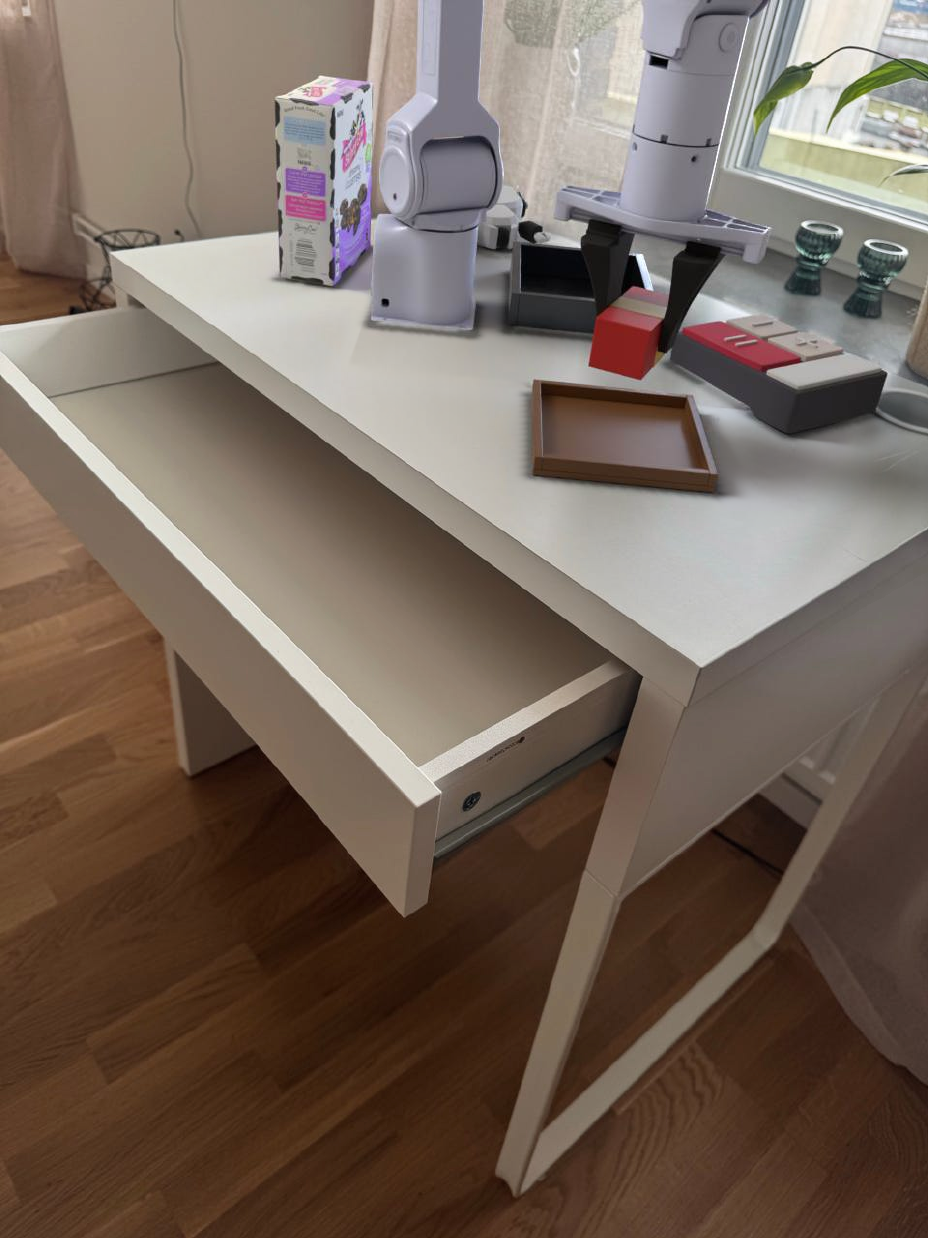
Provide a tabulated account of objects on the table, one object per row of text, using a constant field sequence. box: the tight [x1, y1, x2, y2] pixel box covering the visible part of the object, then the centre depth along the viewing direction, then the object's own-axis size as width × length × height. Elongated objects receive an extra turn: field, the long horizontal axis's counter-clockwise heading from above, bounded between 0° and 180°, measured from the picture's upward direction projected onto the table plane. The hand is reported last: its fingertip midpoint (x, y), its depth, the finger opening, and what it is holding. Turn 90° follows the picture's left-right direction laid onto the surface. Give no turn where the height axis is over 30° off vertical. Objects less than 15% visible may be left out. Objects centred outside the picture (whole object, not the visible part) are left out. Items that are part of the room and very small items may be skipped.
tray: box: [530, 379, 719, 493], centre depth 74 cm, size 13×13×2 cm
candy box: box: [274, 75, 374, 287], centre depth 96 cm, size 14×6×16 cm, turn 168°
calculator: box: [669, 313, 888, 434], centre depth 84 cm, size 11×4×15 cm
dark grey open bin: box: [507, 241, 654, 335], centre depth 96 cm, size 14×16×4 cm
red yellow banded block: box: [587, 286, 669, 381], centre depth 70 cm, size 4×8×4 cm, turn 154°
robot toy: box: [477, 184, 551, 250], centre depth 111 cm, size 12×4×15 cm
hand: (635, 340), depth 70 cm, fingers closed on red yellow banded block, 4 cm apart
